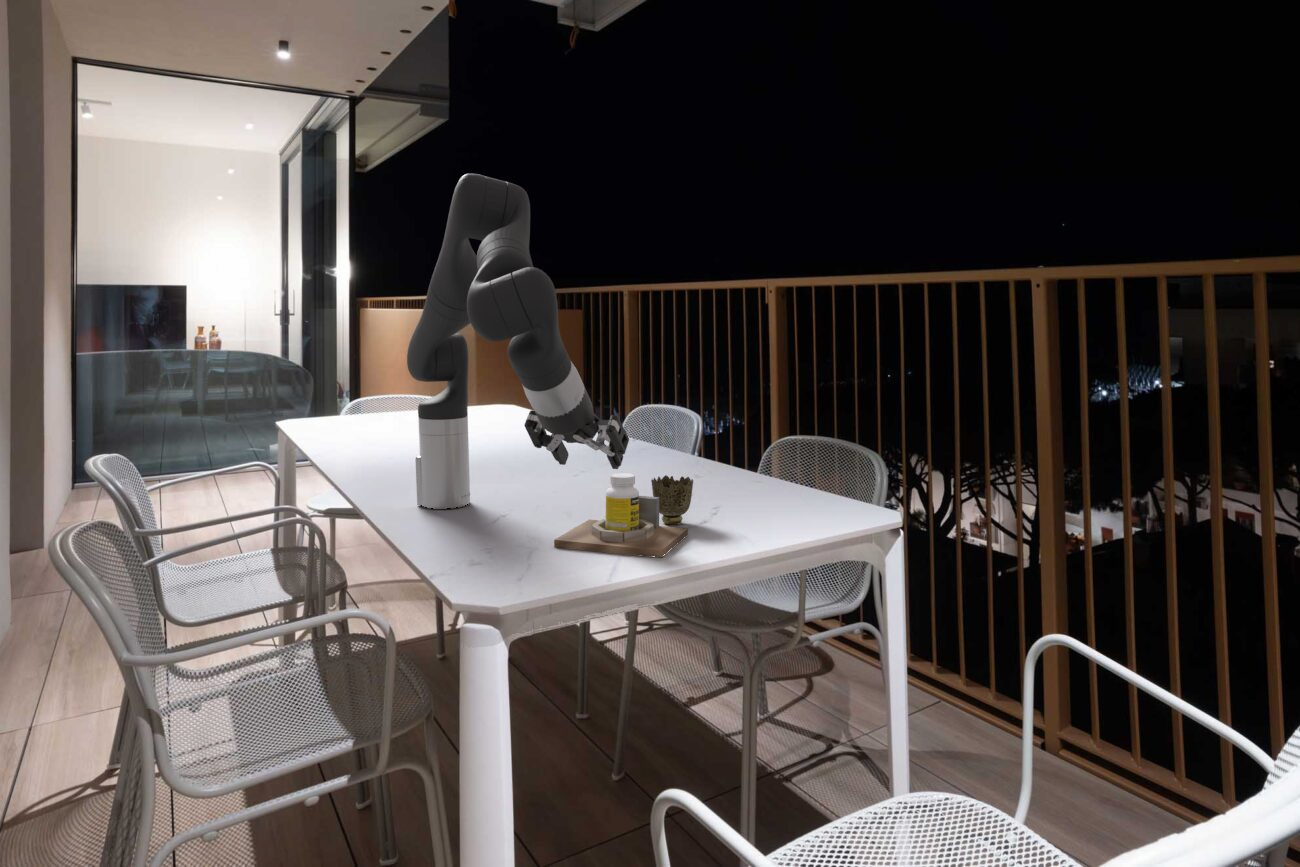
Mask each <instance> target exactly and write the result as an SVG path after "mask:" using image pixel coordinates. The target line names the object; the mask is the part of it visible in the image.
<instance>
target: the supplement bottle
mask: <svg viewBox="0 0 1300 867" xmlns="http://www.w3.org/2000/svg"><path fill="white" fill-rule="evenodd" d="M609 476H610V477H609V478H610V479H609V480H610V481H609V484H610V485H611V487H608V488H607V490H605V491H606V492H605V519H606V530H614V531H631V530H639V496H640V492H639V489H637V487H635V486H634V485H635V484H636V475H635V474H634V473H628V472H625V473H624V472H615V473H612V474H610V475H609Z"/></svg>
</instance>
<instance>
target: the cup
mask: <svg viewBox="0 0 1300 867" xmlns="http://www.w3.org/2000/svg"><path fill="white" fill-rule="evenodd" d="M650 481H651V491H652V497H659V515H660V514H661V515H662V517H661V521H662V523H663V524H666V525H668V524H669V526H675V524H676V525H679V524H681V523H682V522H683V516H682V515H684V514H686V513H687V512H688V510H689V509H690V506H691V504H692V503H691V502H692V495H693V487H694V480H693V478H690V476H687V477H684V476H681V477H680V478H679V480H678V479H674V476H673V475H671V476H670V477H669V476H668V475H667V474H665V475H664V476H663V477H662V478H661V476H657V479H656V478H655V477H653V478H651V480H650Z"/></svg>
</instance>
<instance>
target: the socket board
mask: <svg viewBox="0 0 1300 867" xmlns="http://www.w3.org/2000/svg"><path fill="white" fill-rule="evenodd" d="M687 535H688V536H689V529H688V527H678V526H666V525H660V513H659V497H653V496H646V495H639V530H631V531H614V530H606V518H604V519H600V520H597V519H588V520H586V521H584V522H583V523H581V524H579V525H578V526H577V525H576V526H575V527H574V528H573V529H570V530H568V531H567V532H565V533H563V534H561V535H560V536H558V537H557V538H554V539H553V547H554V548H560V549H570V550H579V551H587V552H589V551H590V552H596V553H597V552H600V553H608V554H609V553H610V554H617V555H618V554H619V555H627V554H628V555H629V556H636V555H642V556H641V557H646V556H655V557H662V556H663V555H664V554H666V553H667V552H668V551H669V550H670V549H671V548H673V547H674V546H675V545H676V544H677V543H678V544H680V543H681V542H682V541H683V540H684V539H685V538H686V536H687ZM688 536H687V537H688ZM684 537H685V538H684ZM683 538H684V539H683ZM682 539H683V540H682ZM681 540H682V541H681ZM680 541H681V542H680ZM679 542H680V543H679ZM678 544H677V545H678ZM677 545H676V546H677ZM676 546H675V547H676ZM675 547H674V548H675ZM674 548H673V549H674ZM671 550H672V549H671ZM671 550H670V551H671ZM670 551H669V552H670ZM669 552H668V553H669ZM668 553H667V554H668ZM667 554H666V555H667ZM628 555H627V556H628ZM655 557H654V558H655ZM663 557H664V556H663ZM663 557H662V558H663Z"/></svg>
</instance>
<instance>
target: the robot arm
mask: <svg viewBox="0 0 1300 867" xmlns="http://www.w3.org/2000/svg"><path fill="white" fill-rule="evenodd" d="M530 237H531V203H530V198H529V195H528V193H527V191H526V190H525V189H524V188H523V187H522V186H520V185H517V184H514V183H513V182H509V181H505V180H501V179H497V178H494V177H490V176H485V175H482V174H478V173H466V174H464V175H462V176H461V177H460V178H459V180H458V182H457V184H456V186H455V188H454V191H453V195H452V199H451V203H450V206H449V212H448V217H447V222H446V228H445V232H444V237H443V241H442V245H441V249H440V252H439V255H438V259H437V260H436V261H437V262H436V264H435V267H434V271H433V273H432V275H431V279H430V283H429V286H428V289H427V293H426V298H425V301H424V305H423V309H422V314H421V316H420V318H419V320H418V322H417V324H416V327H415V329H414V331H413V333H412V335H411V338H410V341H409V345H408V348H407V354H406V364H407V370H408V372H409V374H410V375H411V376H410V377H412V378H413V379H415V381H418V382H419V381H420V382H425V383H431V382H433V383H434V382H436V383H437V382H447V383H446V387H445V388H444V389H443V390H442V391H441V392H439V393H438V394H436V395H434V396H432V397H430V398H427V399H425V400H422V401H420V402H419V403H418V407H417V417H418V437H419V441H418V442H419V443H418V444H419V455H417V456H416V457H415V479H416V481H415V484H416V486H415V487H416V506H420V505H422V506H421V507H423V506H424V507H423V508H425V507H427V508H426V509H431V508H433V509H434V510H448V509H447V508H451V509H457V508H456V507H458V508H463V507H465V505H466V506H468V505H470V504H471V491H470V490H471V488H470V486H471V483H470V482H471V480H470V479H471V478H470V450H469V449H470V448H469V445H470V444H469V421H468V420H469V418H468V417H469V416H468V404H469V403H468V402H469V392H468V391H469V389H468V387H469V384H468V383H469V347H468V342H467V340H466V338H465V336H464V335H463V334H462V333H458V332H460V331H462V330H463V329H465V328H466V327H468V326H469V325H470V324H471V327H472V328H473V330H474V332H476V334H477V335H478V336H480V338H482V339H484V340H486V341H488V342H493V343H499V342H504V341H506V340H509V339H511V340H510V341H509V343H508V344H507V358H508V360H509V363H510V364H511V367H512V368H513V370H514V372H515V373H516V376H517V377H518V380H519V381H520V383H521V386H522V388H523V390H524V394H525V396H526V399H527V401H528V402H529V404H530V406H531V407H532V410H530V411H529V413H528V415H527V418H526V419H525V422H524V425H523V426H524V428H525V430H526V432H527V434H528V437H529V438H530V440H531V443H532V445H533V447H535V448H536V449H541V448H542V447H545V449H546V450H547V451H548V452H550V453H551V455H552V456H553V458H554V460H555V461H556V462H558V464H559V466H560V465H562V466H563V465H566V463H567V461H568V458H569V451H568V450H567V448H566V446H565V444H564V442H565V443H567V444H575V443H577V444H581V445H586V446H588V447H589V448H591V449H592V450H594V451H598V450H599V451H601V452H602V453H604V454H605V455H606V457H607V460H608V462H609V464H610V466H611V468H612V470H618V469H619V467H621V466H622V463H623V459H624V455H625V453H626V450H627V448H628V445H629V441H630V438H629V436H628V434H627V432H626V429H625V428H624V426H623V424H622V422H621V420H620V418H619V417H618V416H617V415H613V414H612V415H610V418H609V419H601V418H600V417H598V415H597V414H595V412H594V406H593V403H592V401H591V400H592V399H591V398H590V396H589V394H588V391H587V390H586V386H585V384H584V383H583V380H582V378H581V376H580V374H579V372H578V369H577V368H576V367H575V365H574V363H573V362H572V360H571V358H570V356H569V354H568V351H567V349H566V347H565V344H564V342H563V339H562V336H561V334H560V326H559V308H558V306H559V304H558V297H557V292H556V288H555V286H554V282H553V281H552V279H551V277H550V276H549V275H547V273H546V272H544V271H543V270H542V269H539V268H538V267H535V266H534V264H533V260H532V257H531V253H530V239H531V238H530ZM470 239H473V240H478V241H481V243H480V244H479V247H478V250H477V252H476V253H475V252H474V251H475V250H473V248H472V244H471V242H470ZM547 432H548V433H550V434H548V433H547ZM596 435H597V437H596V440H594V438H595V436H596ZM605 441H606V442H608V445H607V444H606V443H605ZM469 503H470V504H469ZM467 504H468V505H467ZM462 506H463V507H462ZM433 509H432V510H433Z"/></svg>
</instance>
